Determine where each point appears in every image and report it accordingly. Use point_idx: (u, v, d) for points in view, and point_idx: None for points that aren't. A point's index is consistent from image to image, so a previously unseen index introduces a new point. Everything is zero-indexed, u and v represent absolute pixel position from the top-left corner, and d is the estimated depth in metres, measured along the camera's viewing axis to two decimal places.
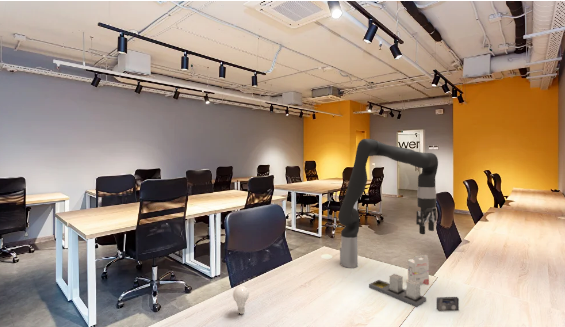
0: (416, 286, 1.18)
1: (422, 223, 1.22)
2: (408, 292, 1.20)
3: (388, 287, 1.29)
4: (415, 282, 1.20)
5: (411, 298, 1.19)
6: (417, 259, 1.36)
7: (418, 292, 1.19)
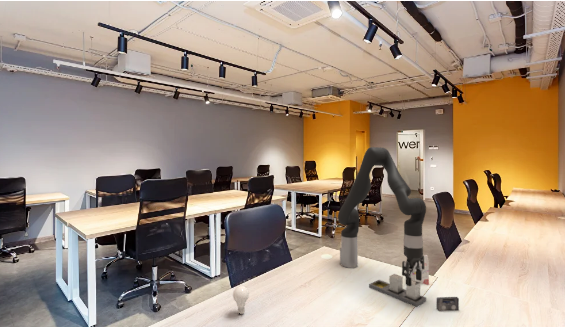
0: (416, 286, 1.18)
1: (408, 275, 1.15)
2: (408, 292, 1.20)
3: (388, 287, 1.29)
4: (415, 282, 1.20)
5: (411, 298, 1.19)
6: None
7: (418, 292, 1.19)
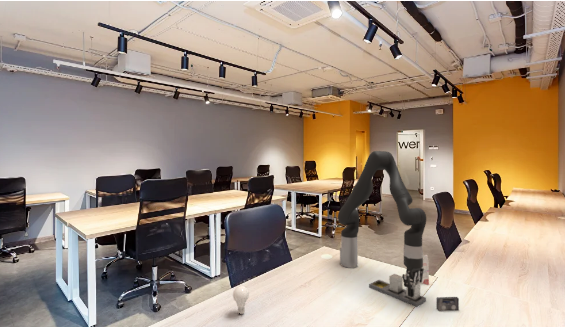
0: (416, 286, 1.18)
1: (410, 286, 1.16)
2: None
3: (388, 287, 1.29)
4: (415, 282, 1.20)
5: (411, 298, 1.19)
6: None
7: (418, 292, 1.19)
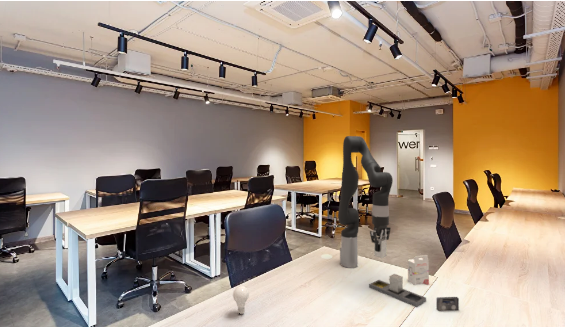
0: (383, 242, 1.30)
1: (377, 241, 1.29)
2: None
3: (388, 287, 1.29)
4: (382, 239, 1.32)
5: (378, 253, 1.31)
6: (417, 259, 1.36)
7: (385, 247, 1.31)
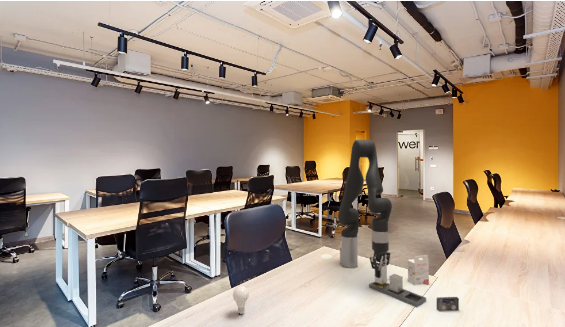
0: (383, 268, 1.30)
1: (377, 268, 1.29)
2: None
3: (388, 287, 1.29)
4: (382, 265, 1.32)
5: (378, 279, 1.31)
6: (417, 259, 1.36)
7: (385, 273, 1.31)
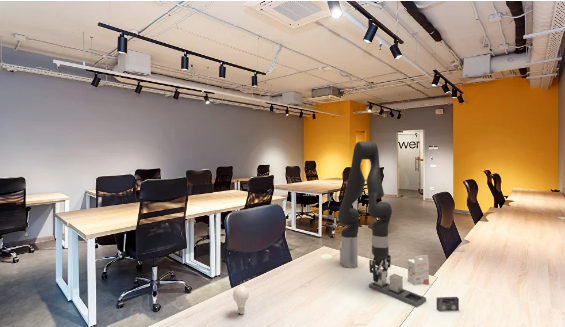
0: (383, 274, 1.31)
1: (374, 272, 1.28)
2: None
3: (388, 287, 1.29)
4: (382, 270, 1.32)
5: (378, 285, 1.31)
6: (417, 259, 1.36)
7: (385, 279, 1.32)
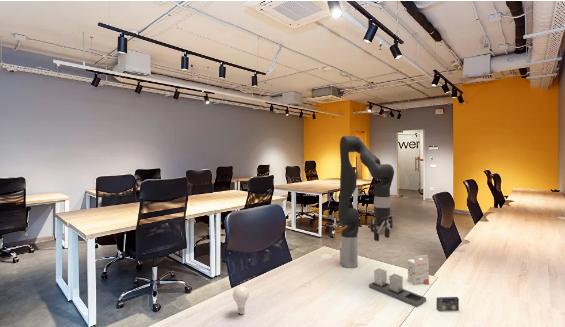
0: (383, 274, 1.31)
1: (375, 231, 1.30)
2: (375, 279, 1.32)
3: (388, 287, 1.29)
4: (382, 270, 1.32)
5: (378, 285, 1.31)
6: (417, 259, 1.36)
7: (385, 279, 1.32)
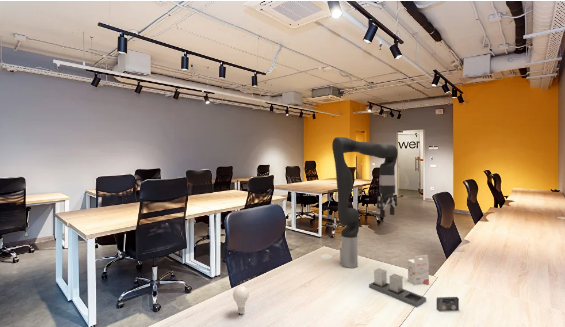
0: (383, 274, 1.31)
1: (382, 207, 1.36)
2: (375, 279, 1.32)
3: (388, 287, 1.29)
4: (382, 270, 1.32)
5: (378, 285, 1.31)
6: (417, 259, 1.36)
7: (385, 279, 1.32)
